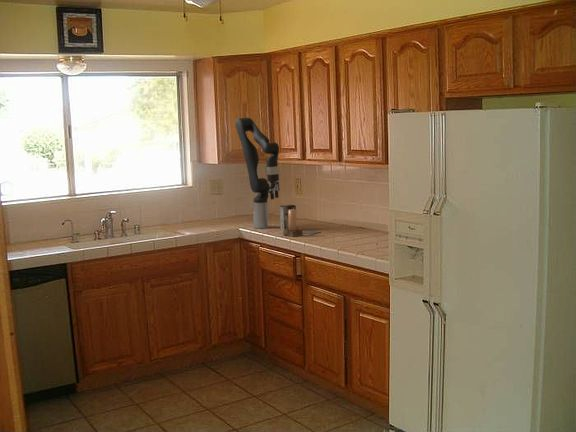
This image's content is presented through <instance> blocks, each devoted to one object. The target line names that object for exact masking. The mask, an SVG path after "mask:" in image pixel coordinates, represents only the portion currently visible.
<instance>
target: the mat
mask: <svg viewBox="0 0 576 432" xmlns="http://www.w3.org/2000/svg"><path fill="white" fill-rule="evenodd" d="M302 233H303V234H304V235H315V234H320V233H321V231H319V230H318V231H316V230H307V231H302Z"/></svg>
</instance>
